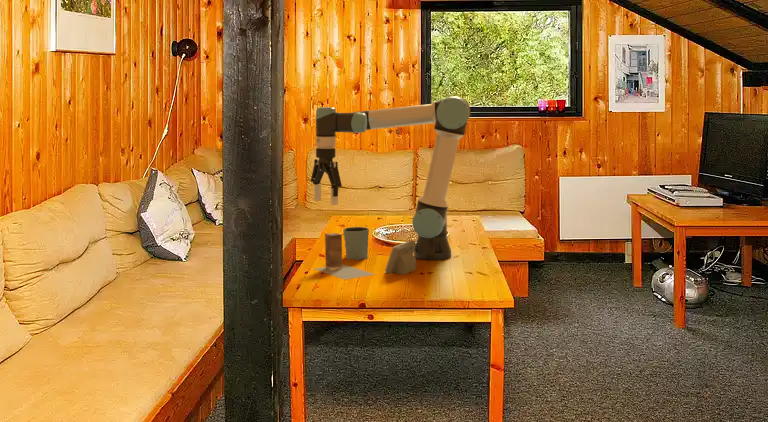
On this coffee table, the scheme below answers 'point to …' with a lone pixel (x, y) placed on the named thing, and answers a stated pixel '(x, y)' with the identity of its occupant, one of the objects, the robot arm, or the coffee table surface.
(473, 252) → the coffee table surface
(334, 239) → the walnut block
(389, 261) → the digital clock
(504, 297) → the coffee table surface
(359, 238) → the grey green cup
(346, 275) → the felt mat
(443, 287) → the coffee table surface
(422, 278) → the coffee table surface
